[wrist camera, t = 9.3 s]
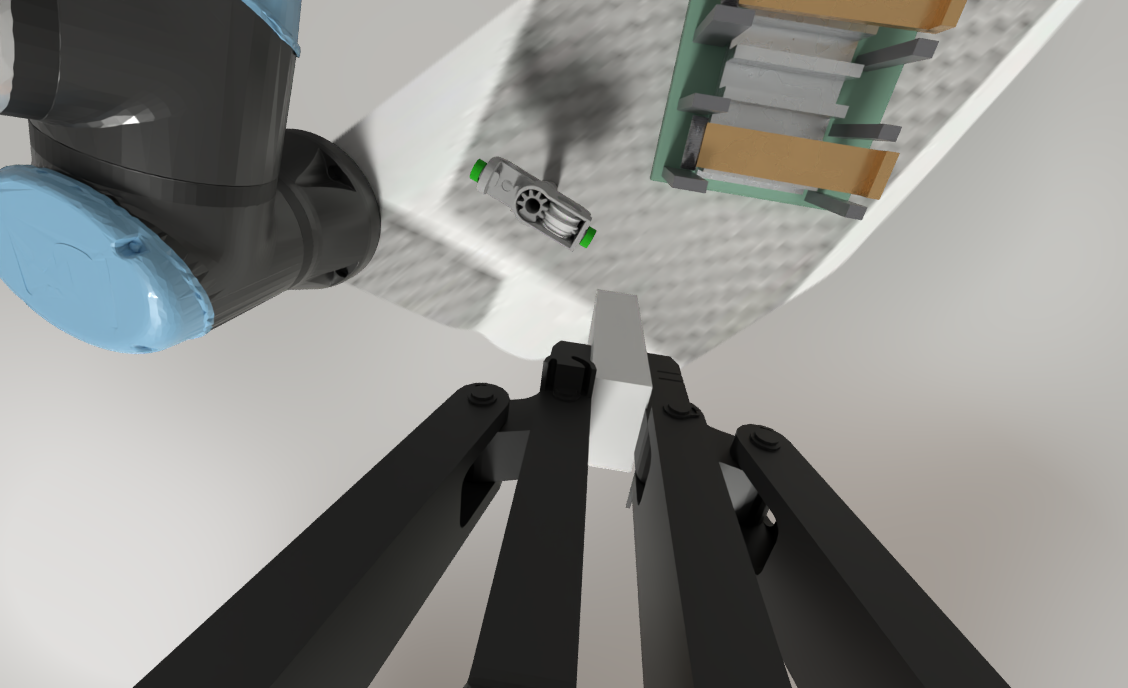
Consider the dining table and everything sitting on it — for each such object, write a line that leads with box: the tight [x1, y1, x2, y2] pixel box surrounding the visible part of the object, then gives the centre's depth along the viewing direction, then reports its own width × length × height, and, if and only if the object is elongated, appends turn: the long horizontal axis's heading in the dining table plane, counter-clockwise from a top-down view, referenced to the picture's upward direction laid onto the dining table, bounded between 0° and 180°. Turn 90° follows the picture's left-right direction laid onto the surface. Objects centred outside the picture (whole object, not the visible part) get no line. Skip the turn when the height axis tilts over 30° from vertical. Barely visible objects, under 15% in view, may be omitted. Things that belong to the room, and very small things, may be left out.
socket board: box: [650, 0, 917, 210], centre depth 37 cm, size 17×17×2 cm
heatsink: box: [694, 7, 879, 195], centre depth 35 cm, size 9×15×4 cm, turn 171°
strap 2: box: [680, 115, 900, 200], centre depth 33 cm, size 14×4×2 cm, turn 81°
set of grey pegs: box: [661, 4, 939, 220], centre depth 33 cm, size 14×16×8 cm
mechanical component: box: [470, 157, 596, 252], centre depth 39 cm, size 3×10×10 cm, turn 60°
